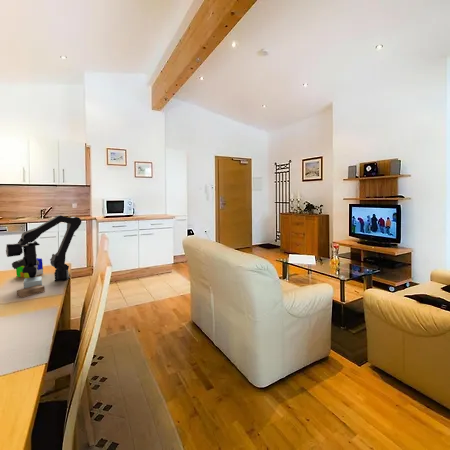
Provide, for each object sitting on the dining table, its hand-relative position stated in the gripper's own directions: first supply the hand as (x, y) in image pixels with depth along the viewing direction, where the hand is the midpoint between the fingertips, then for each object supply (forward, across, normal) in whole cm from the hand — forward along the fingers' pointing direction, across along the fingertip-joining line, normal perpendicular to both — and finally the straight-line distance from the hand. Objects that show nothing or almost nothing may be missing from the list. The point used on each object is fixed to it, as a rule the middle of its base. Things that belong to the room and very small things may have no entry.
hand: (32, 280), depth 160 cm
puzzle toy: (+3, -25, -3) cm, 26 cm away
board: (+3, +15, 0) cm, 15 cm away
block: (+3, +6, +1) cm, 7 cm away
